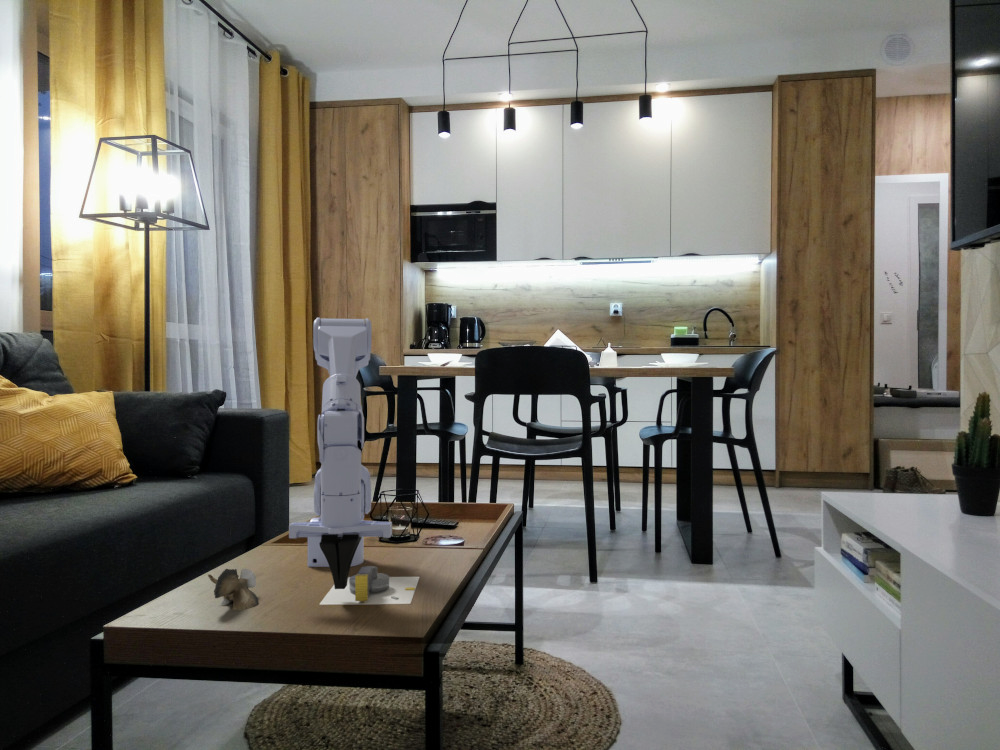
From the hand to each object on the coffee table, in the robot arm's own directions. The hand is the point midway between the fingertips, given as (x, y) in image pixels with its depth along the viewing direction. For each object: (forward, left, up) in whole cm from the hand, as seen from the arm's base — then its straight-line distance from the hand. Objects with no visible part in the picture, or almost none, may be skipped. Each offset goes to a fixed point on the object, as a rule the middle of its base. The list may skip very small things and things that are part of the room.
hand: (340, 587), depth 100 cm
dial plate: (+4, +6, -3) cm, 7 cm away
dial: (+3, +3, -2) cm, 5 cm away
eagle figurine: (-15, -1, -3) cm, 16 cm away
